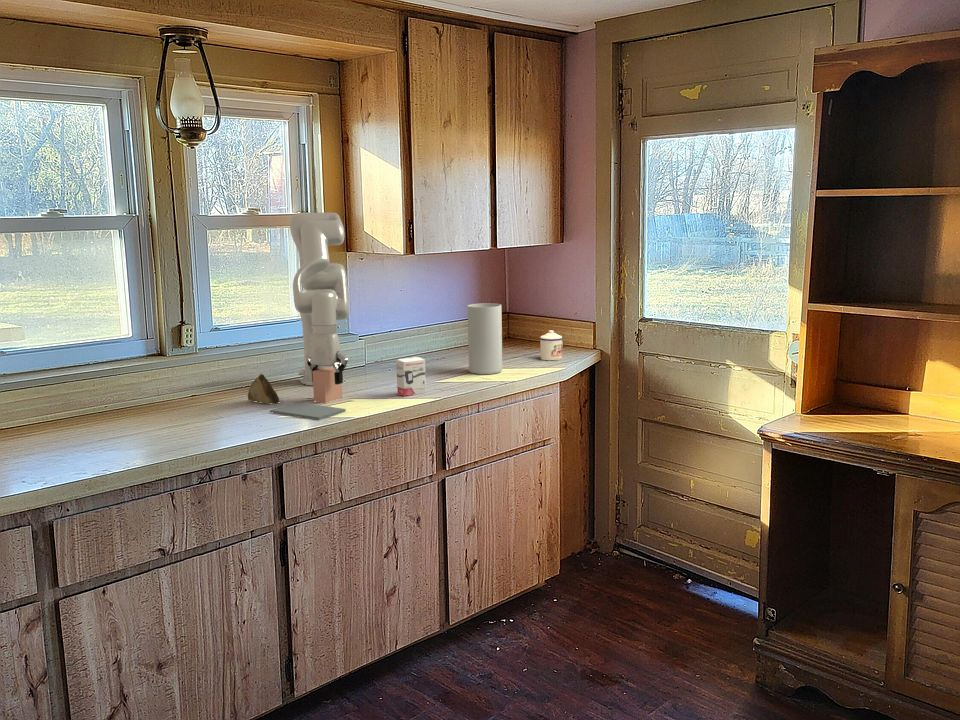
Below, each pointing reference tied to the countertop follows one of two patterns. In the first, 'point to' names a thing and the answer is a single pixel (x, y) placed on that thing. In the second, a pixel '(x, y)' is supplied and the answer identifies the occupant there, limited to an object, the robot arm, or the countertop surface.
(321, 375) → the terracotta block
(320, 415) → the mat
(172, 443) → the countertop surface
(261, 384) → the rock
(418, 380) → the ink box
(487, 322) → the cylinder vase
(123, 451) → the countertop surface
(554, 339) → the teacup with lid
